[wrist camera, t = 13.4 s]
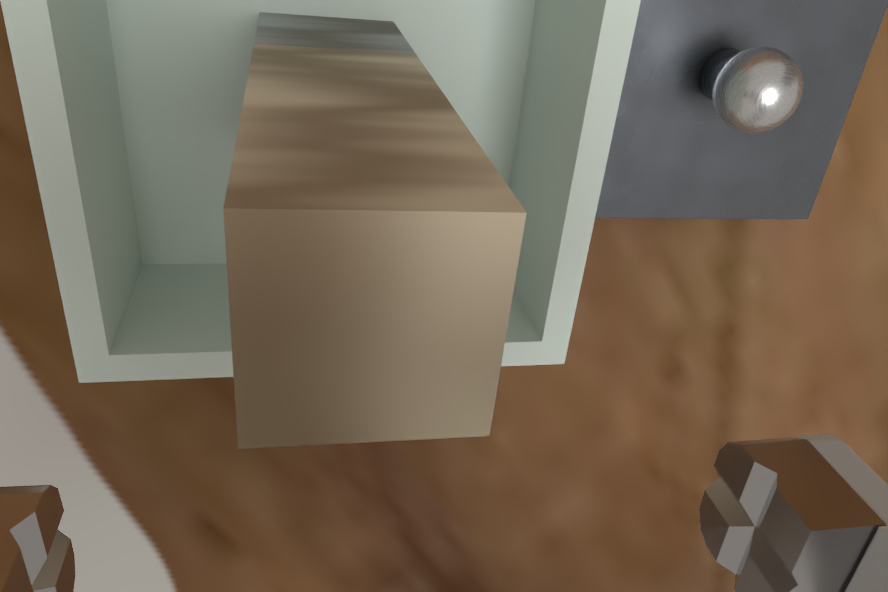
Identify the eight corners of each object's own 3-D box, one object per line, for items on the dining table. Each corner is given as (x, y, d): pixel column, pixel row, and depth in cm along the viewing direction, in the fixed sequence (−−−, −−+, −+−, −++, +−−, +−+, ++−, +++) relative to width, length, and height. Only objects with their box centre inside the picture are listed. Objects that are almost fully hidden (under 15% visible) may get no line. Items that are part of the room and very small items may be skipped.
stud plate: (794, 210, 33) (864, 257, 29) (544, 208, 30) (583, 259, 26) (901, -88, 27) (1008, -80, 23) (600, -120, 24) (662, -118, 20)
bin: (512, 270, 31) (564, 363, 26) (122, 274, 28) (78, 382, 22) (578, -159, 24) (676, -167, 18) (46, -222, 20) (-53, -259, 14)
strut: (393, 21, 24) (526, 212, 11) (385, 146, 26) (489, 435, 13) (259, 12, 23) (222, 208, 10) (263, 142, 26) (238, 449, 12)
